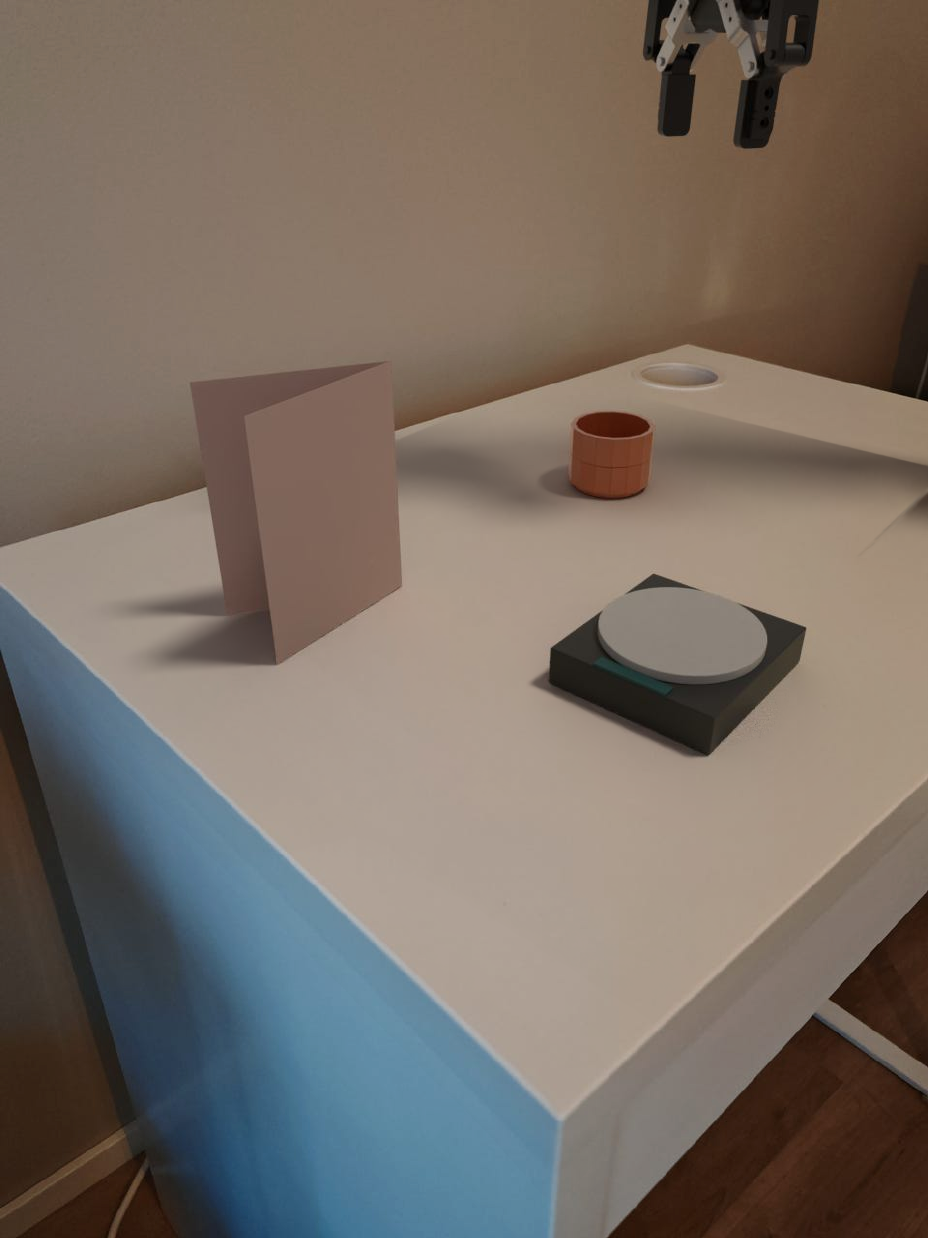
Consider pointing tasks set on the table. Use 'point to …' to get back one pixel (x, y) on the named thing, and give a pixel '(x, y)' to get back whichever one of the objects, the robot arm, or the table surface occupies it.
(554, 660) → the scale
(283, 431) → the greeting card
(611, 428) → the orange cup
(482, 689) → the table surface
